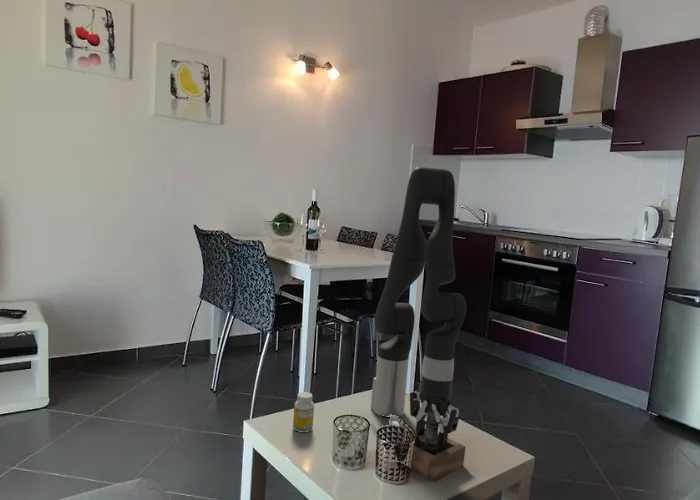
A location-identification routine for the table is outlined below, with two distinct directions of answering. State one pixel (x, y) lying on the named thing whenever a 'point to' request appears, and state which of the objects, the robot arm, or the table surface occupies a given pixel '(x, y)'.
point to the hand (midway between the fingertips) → (430, 440)
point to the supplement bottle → (303, 412)
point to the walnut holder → (437, 459)
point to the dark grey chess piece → (430, 436)
